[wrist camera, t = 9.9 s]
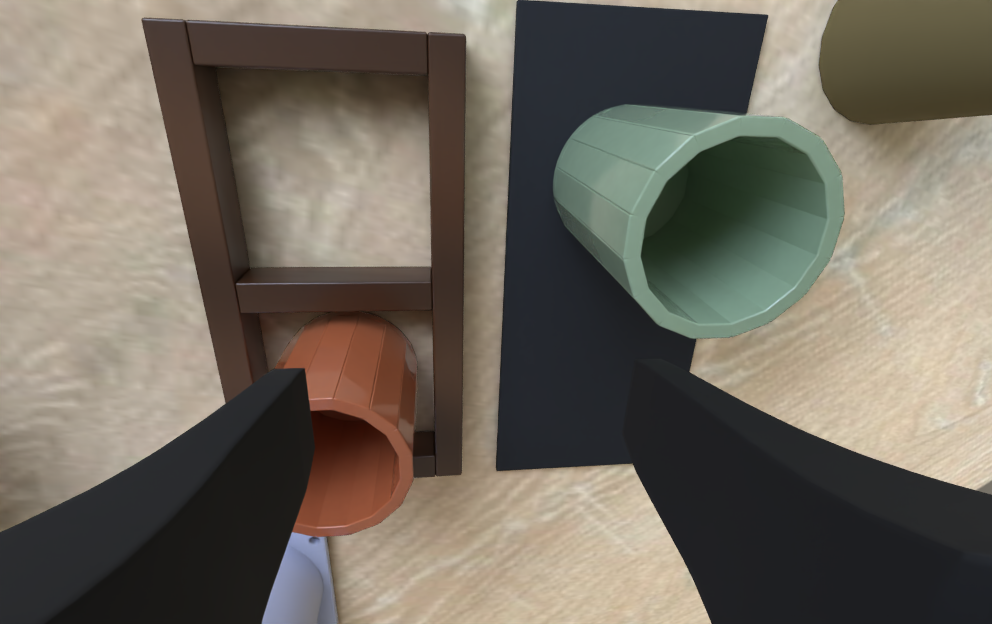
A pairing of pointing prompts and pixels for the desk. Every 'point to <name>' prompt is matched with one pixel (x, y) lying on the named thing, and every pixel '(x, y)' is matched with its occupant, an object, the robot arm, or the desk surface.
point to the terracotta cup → (355, 420)
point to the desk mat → (555, 251)
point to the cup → (702, 212)
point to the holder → (248, 291)
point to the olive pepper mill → (908, 59)
